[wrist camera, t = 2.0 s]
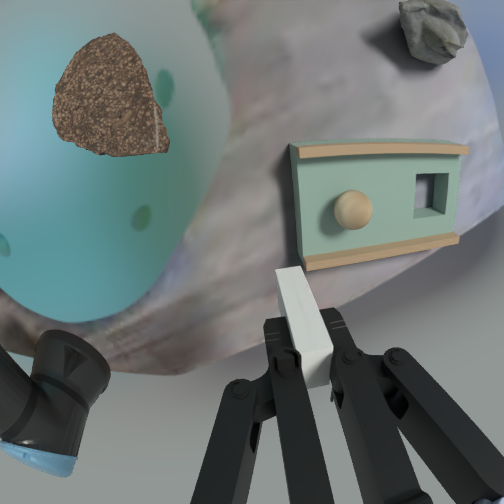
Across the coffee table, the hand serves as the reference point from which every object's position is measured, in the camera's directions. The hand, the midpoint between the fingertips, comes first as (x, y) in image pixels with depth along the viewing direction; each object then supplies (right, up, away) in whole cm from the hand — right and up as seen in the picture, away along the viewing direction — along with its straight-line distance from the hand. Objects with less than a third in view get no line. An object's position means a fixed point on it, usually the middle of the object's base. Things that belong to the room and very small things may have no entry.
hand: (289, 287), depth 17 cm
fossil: (+18, +29, +5) cm, 34 cm away
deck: (+13, +9, +14) cm, 22 cm away
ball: (+8, +6, +10) cm, 14 cm away
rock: (-15, +18, +8) cm, 25 cm away
